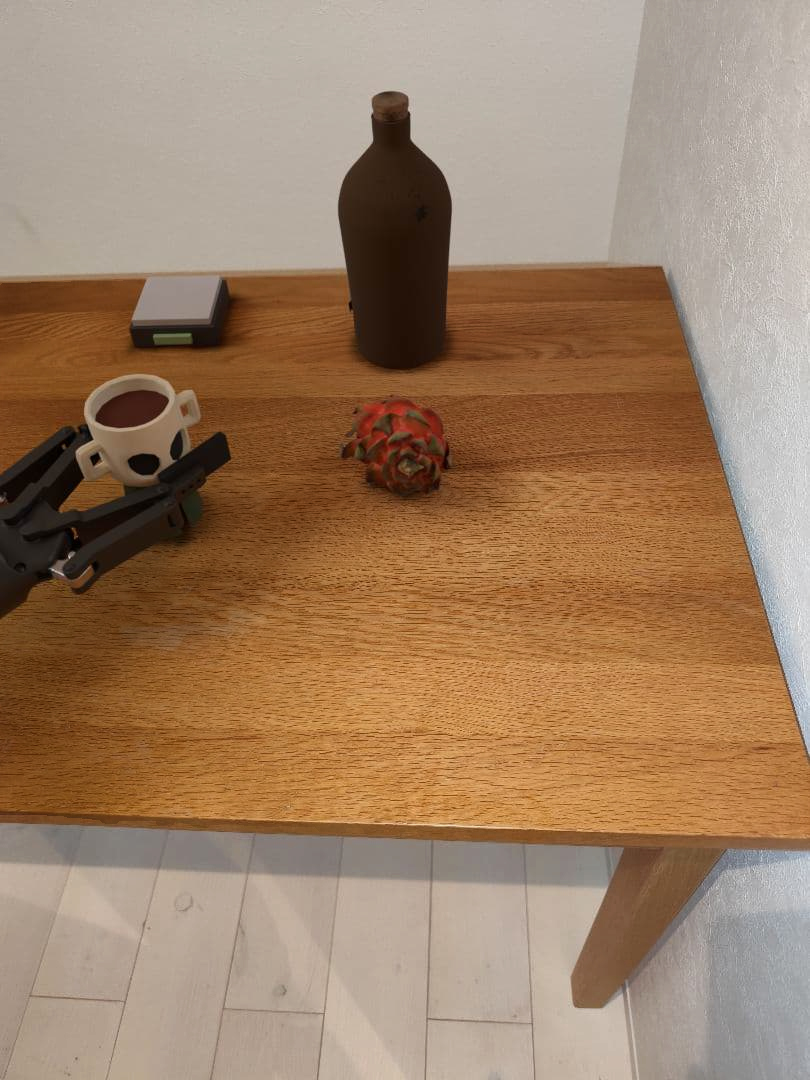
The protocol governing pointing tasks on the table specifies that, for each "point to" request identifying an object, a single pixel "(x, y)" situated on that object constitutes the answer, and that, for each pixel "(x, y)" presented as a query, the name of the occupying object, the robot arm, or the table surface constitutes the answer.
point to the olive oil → (396, 242)
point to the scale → (180, 311)
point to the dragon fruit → (399, 446)
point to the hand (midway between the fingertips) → (194, 425)
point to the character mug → (139, 434)
